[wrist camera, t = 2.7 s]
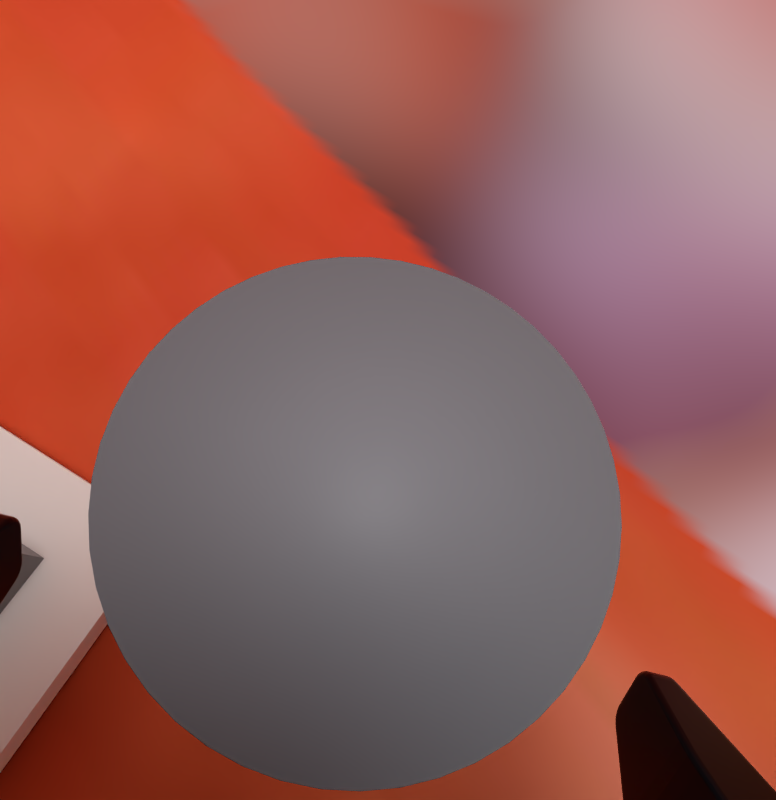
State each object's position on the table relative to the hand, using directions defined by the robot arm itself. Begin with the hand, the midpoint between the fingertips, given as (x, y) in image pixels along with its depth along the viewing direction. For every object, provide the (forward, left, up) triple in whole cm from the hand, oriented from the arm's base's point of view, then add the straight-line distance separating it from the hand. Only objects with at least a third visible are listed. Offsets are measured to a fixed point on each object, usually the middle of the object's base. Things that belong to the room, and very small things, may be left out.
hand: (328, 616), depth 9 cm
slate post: (+1, 0, -9) cm, 9 cm away
